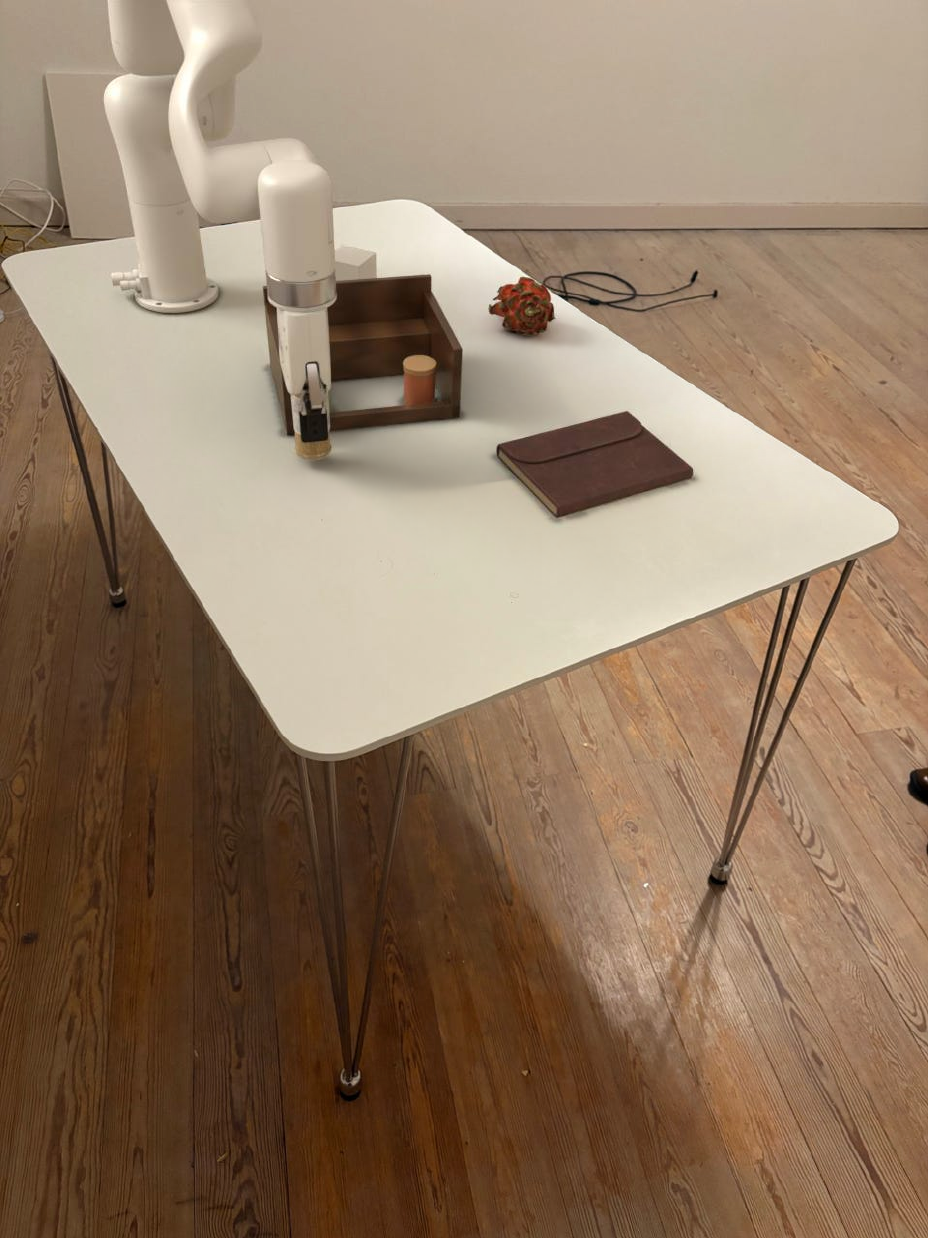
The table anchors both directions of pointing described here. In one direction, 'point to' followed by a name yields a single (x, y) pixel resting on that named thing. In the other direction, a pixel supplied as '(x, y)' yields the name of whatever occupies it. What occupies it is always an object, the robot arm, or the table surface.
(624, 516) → the table surface
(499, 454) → the notebook
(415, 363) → the terracotta jar
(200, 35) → the robot arm
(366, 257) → the light grey cube
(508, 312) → the dragon fruit
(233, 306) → the table surface
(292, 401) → the sprinkles bottle
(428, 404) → the spice rack
